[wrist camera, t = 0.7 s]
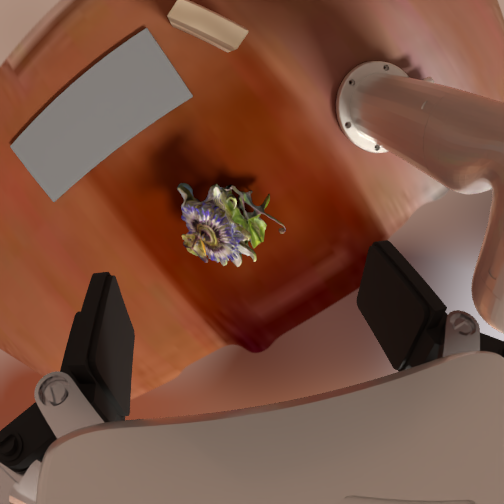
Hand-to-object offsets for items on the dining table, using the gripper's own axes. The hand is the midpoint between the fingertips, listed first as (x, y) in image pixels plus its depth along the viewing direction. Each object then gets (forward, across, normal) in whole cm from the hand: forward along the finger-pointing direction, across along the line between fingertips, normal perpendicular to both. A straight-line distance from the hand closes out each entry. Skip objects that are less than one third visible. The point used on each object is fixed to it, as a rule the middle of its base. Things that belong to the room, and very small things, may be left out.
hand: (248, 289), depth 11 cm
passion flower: (+29, -2, +10) cm, 31 cm away
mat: (+29, +13, -3) cm, 32 cm away
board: (+29, 0, -12) cm, 31 cm away
